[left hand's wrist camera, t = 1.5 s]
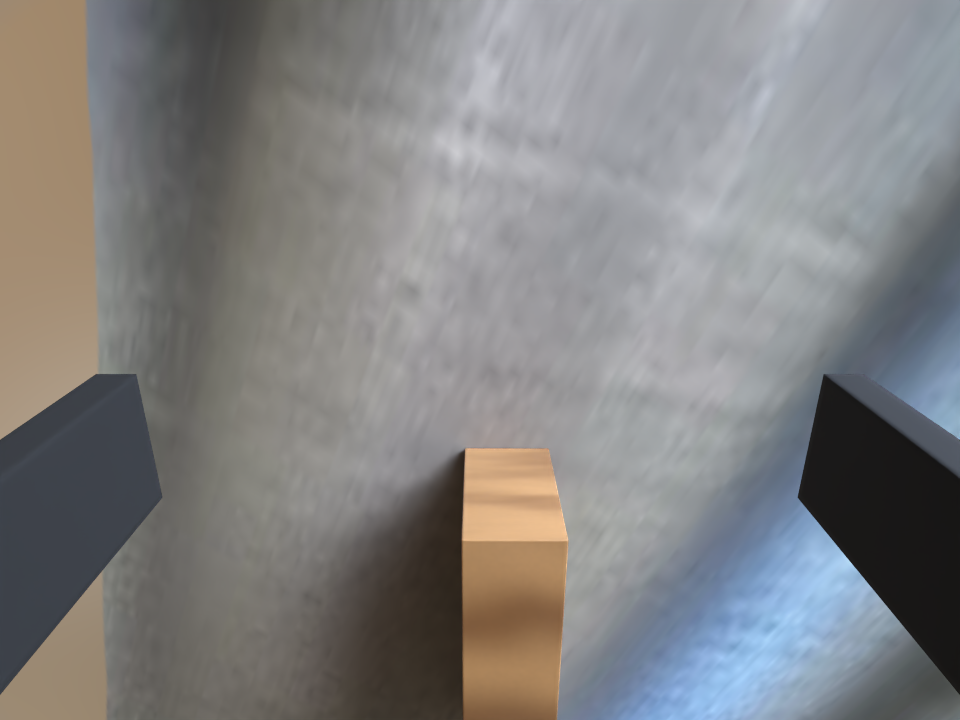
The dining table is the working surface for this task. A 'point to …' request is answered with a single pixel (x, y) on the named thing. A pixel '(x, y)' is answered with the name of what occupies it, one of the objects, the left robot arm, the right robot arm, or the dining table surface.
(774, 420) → the dining table surface
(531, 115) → the dining table surface
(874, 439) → the left robot arm
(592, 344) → the dining table surface
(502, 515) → the long box
